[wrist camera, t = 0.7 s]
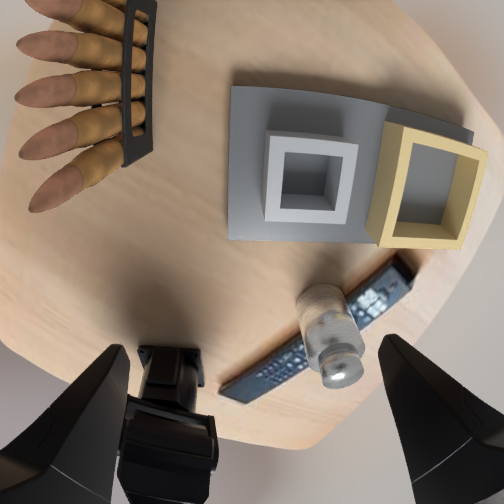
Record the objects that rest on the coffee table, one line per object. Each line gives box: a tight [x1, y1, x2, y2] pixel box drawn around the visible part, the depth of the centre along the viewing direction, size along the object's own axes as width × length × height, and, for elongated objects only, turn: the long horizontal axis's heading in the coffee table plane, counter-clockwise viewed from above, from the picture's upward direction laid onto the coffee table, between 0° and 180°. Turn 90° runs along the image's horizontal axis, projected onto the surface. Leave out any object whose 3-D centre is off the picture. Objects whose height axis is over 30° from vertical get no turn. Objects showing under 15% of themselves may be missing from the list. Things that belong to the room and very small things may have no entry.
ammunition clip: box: [15, 0, 157, 213], centre depth 10 cm, size 11×2×12 cm, turn 177°
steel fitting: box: [296, 284, 365, 389], centre depth 22 cm, size 4×4×8 cm
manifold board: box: [228, 86, 488, 250], centre depth 17 cm, size 10×18×4 cm, turn 87°
